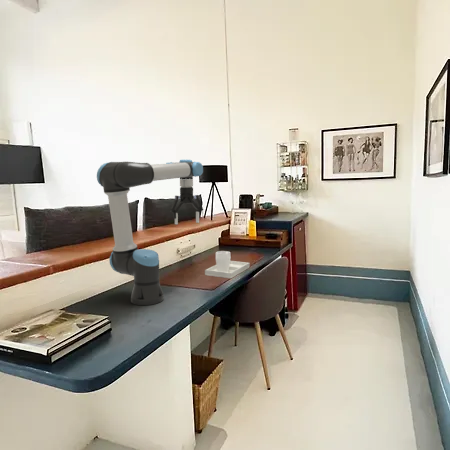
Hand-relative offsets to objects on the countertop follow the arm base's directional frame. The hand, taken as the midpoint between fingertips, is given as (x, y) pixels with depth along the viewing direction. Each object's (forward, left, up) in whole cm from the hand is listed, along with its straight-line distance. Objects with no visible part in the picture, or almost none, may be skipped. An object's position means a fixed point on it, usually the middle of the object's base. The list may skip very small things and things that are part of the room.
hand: (187, 223), depth 207 cm
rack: (+25, -5, -31) cm, 40 cm away
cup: (+19, -9, -30) cm, 37 cm away
